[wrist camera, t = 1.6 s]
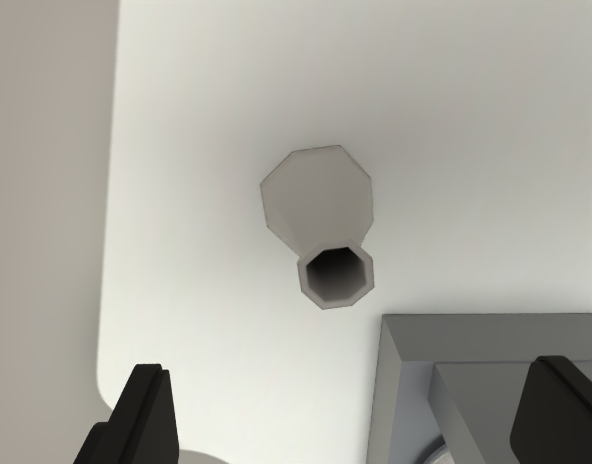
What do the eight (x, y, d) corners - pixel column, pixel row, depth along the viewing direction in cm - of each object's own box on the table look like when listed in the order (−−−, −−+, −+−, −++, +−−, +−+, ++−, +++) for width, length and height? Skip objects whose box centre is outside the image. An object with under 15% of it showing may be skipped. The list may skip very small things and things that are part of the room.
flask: (390, 225, 26) (448, 309, 17) (292, 269, 27) (296, 371, 18) (346, 123, 24) (386, 158, 15) (240, 176, 25) (214, 240, 16)
